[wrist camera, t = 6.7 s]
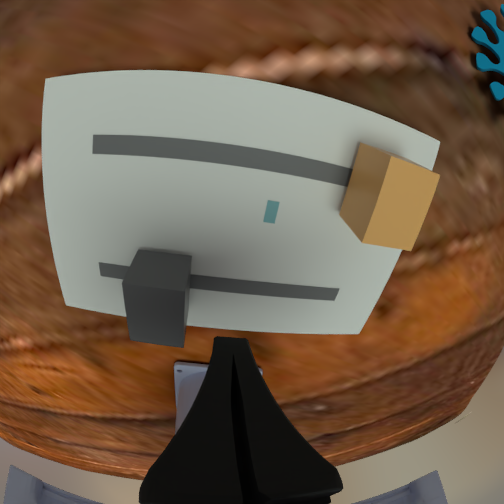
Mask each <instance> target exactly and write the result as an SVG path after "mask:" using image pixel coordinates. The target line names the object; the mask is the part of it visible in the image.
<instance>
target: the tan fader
mask: <svg viewBox="0 0 504 504" xmlns="http://www.w3.org/2000/svg"><path fill="white" fill-rule="evenodd" d="M439 177H440V175H439V174H437V173H435V172H433V171H431V170H429V169H427V168H425V167H423V166H421V165H419V164H417V163H415V162H413V161H411V160H409V159H407V158H404V157H402V156H399V155H396V154H394V153H391V152H388V151H385V150H382V149H379V148H377V147H374V146H370V145H367V144H364V143H361V142H360V145H359V149H358V153H357V156H356V160H355V164H354V167H353V171H352V174H351V178H350V181H349V184H348V188H347V191H346V194H345V198H344V201H343V204H342V207H341V210H340V213H339V215H340V217H341V218H342V219H343V220H344V221H345V223H346V224H347V225H348V226H349V228H350V229H351V230H352V231H353V233H354V234H355V235H356V236H357V238H358V239H359V240H360V241H361V243H365V244H371V245H378V246H384V247H390V248H396V249H402V250H408V251H411V250H412V247H413V245H414V243H415V241H416V238H417V236H418V234H419V231H420V229H421V226H422V224H423V221H424V219H425V216H426V214H427V211H428V209H429V206H430V203H431V201H432V198H433V195H434V192H435V189H436V186H437V183H438V180H439Z"/></svg>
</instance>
